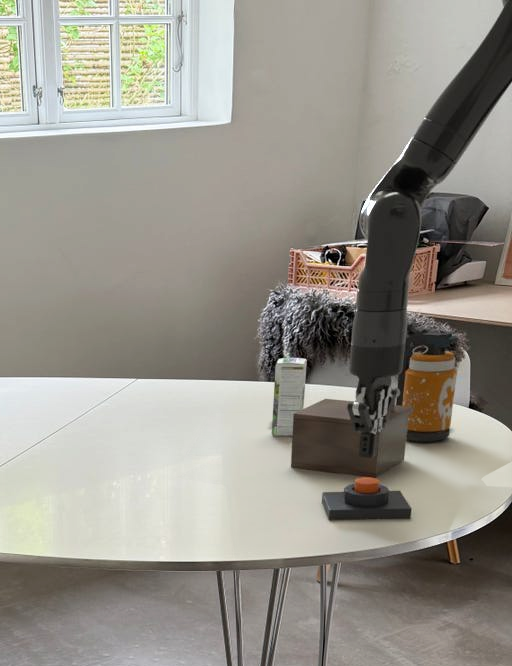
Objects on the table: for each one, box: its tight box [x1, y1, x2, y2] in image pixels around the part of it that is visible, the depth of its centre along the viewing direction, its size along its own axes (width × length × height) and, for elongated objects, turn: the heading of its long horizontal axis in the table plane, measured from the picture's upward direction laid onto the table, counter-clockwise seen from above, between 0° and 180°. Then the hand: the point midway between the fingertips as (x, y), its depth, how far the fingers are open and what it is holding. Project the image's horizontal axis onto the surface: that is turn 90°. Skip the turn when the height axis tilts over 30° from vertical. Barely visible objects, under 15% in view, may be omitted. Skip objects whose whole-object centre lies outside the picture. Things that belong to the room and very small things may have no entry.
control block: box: [321, 483, 412, 521], centre depth 148 cm, size 12×9×4 cm
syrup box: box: [271, 357, 308, 437], centre depth 191 cm, size 6×6×14 cm
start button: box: [354, 476, 380, 493], centre depth 147 cm, size 4×4×2 cm
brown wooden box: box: [290, 414, 409, 479], centre depth 170 cm, size 16×13×9 cm
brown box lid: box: [293, 386, 414, 428], centre depth 167 cm, size 17×13×5 cm
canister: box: [395, 329, 459, 443], centre depth 180 cm, size 9×11×20 cm
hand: (367, 456), depth 147 cm, fingers closed
